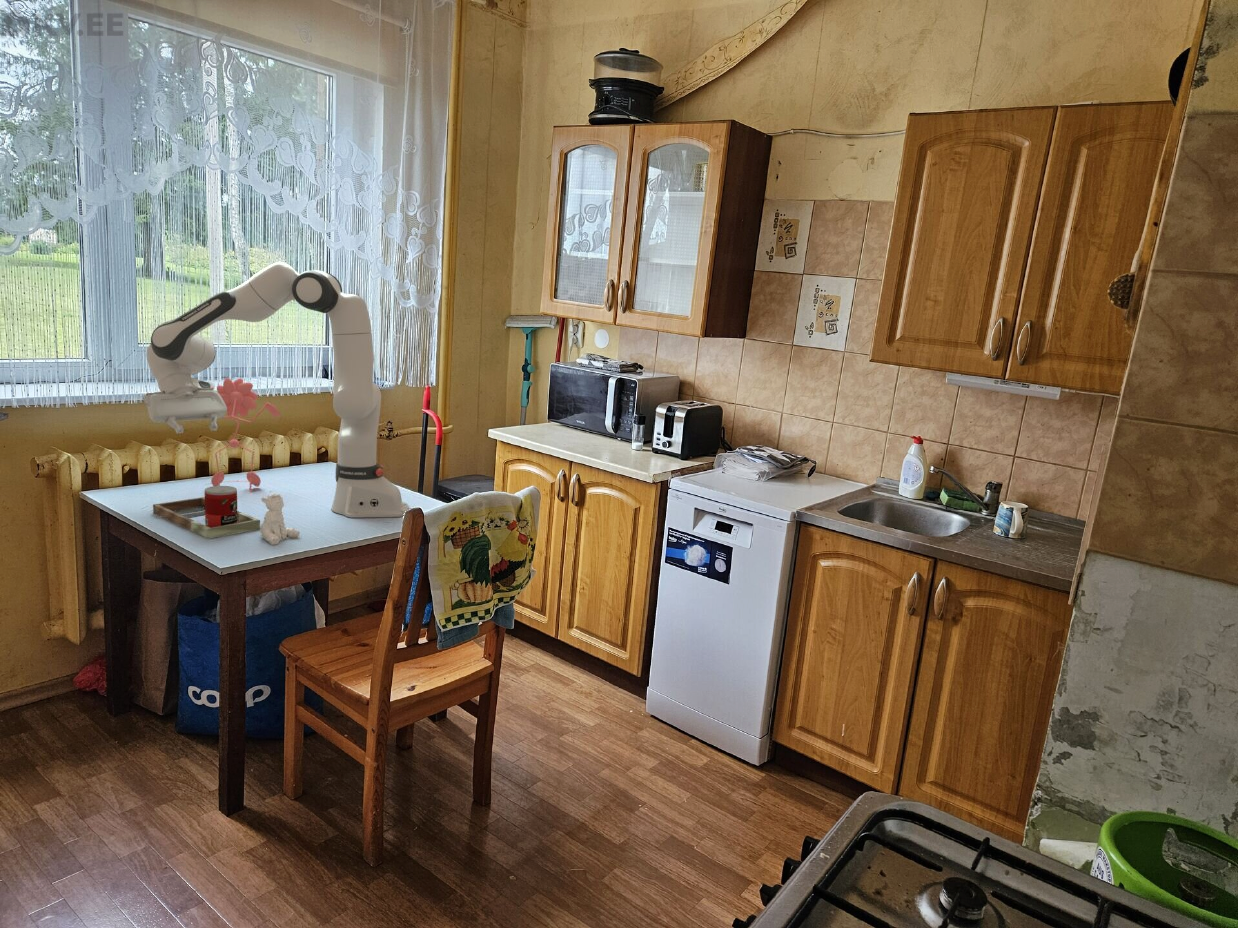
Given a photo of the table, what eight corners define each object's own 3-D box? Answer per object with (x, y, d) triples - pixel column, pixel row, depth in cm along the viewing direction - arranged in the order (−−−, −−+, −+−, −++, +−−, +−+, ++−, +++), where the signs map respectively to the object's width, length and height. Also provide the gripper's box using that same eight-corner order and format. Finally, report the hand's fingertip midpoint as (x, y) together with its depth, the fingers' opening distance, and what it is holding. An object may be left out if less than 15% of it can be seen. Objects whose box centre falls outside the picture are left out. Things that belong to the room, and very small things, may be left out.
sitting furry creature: (273, 546, 208) (273, 500, 206) (248, 539, 211) (247, 495, 209) (301, 537, 217) (301, 493, 214) (276, 531, 220) (276, 488, 217)
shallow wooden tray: (153, 513, 226) (152, 504, 226) (203, 505, 238) (203, 497, 237) (208, 538, 209) (208, 529, 209) (260, 529, 221) (260, 520, 220)
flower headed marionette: (279, 492, 257) (278, 382, 251) (188, 492, 249) (185, 378, 243) (282, 482, 272) (282, 377, 265) (196, 482, 263) (194, 373, 257)
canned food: (225, 534, 214) (225, 494, 212) (198, 530, 215) (197, 490, 213) (244, 527, 221) (243, 487, 219) (217, 523, 222) (216, 484, 220)
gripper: (143, 385, 220) (162, 427, 216) (218, 382, 236) (237, 421, 233) (136, 400, 223) (155, 440, 220) (210, 396, 240) (229, 434, 236)
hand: (198, 430), depth 226 cm, fingers open, 8 cm apart
